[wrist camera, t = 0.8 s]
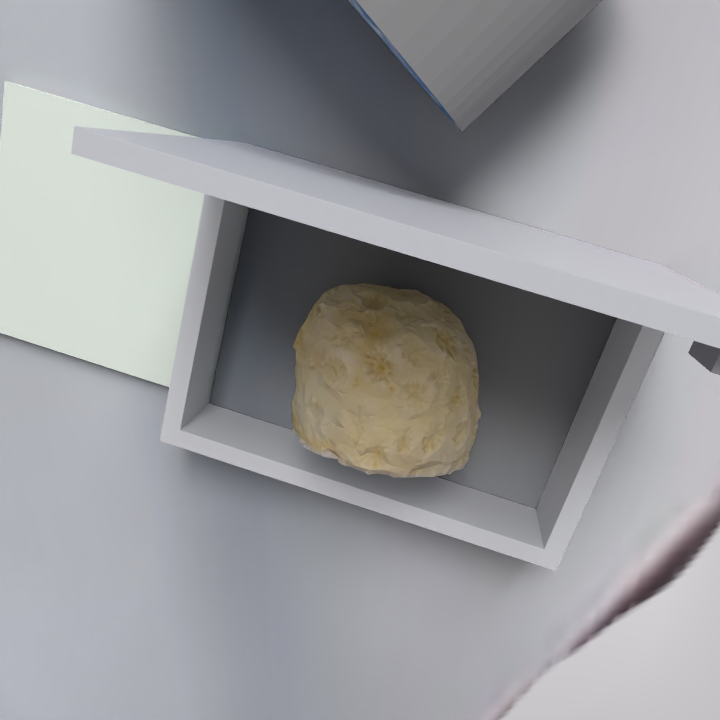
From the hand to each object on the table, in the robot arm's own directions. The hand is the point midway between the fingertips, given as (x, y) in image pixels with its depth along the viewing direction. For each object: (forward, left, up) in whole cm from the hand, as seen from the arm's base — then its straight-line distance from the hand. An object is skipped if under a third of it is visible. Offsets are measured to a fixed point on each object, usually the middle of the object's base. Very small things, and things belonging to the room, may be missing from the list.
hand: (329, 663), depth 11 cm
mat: (-18, -1, -25) cm, 30 cm away
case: (-1, -2, -25) cm, 25 cm away
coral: (-1, -2, -25) cm, 25 cm away
